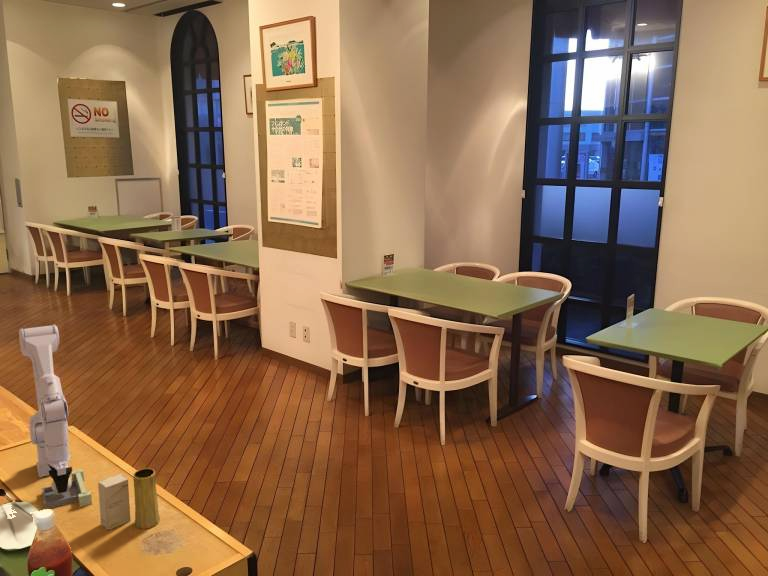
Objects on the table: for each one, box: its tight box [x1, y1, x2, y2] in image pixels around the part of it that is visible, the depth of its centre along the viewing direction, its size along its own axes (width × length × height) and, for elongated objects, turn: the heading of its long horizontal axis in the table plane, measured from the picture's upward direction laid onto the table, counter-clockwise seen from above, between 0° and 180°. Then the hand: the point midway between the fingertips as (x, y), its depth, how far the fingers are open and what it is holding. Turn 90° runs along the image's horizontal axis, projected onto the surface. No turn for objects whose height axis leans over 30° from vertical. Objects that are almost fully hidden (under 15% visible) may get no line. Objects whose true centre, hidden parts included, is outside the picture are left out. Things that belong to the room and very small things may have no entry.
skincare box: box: [97, 473, 131, 531], centre depth 165 cm, size 6×4×12 cm
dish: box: [41, 480, 81, 509], centre depth 177 cm, size 9×9×2 cm
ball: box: [50, 477, 72, 494], centre depth 176 cm, size 5×5×5 cm
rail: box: [70, 468, 93, 508], centre depth 179 cm, size 16×3×3 cm, turn 33°
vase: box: [133, 467, 160, 530], centre depth 165 cm, size 6×6×14 cm
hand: (61, 487), depth 176 cm, fingers closed on ball, 5 cm apart
